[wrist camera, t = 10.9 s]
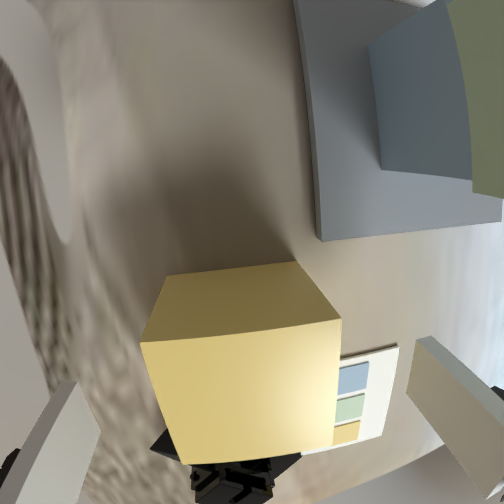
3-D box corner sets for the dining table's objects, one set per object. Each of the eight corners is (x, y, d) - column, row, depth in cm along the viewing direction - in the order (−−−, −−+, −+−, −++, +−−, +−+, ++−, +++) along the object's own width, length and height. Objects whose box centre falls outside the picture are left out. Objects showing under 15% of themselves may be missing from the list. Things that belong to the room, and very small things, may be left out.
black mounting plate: (330, 442, 19) (349, 489, 15) (269, 490, 21) (278, 534, 16) (170, 377, 17) (160, 436, 12) (124, 441, 18) (112, 491, 13)
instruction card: (300, 366, 16) (301, 369, 16) (398, 345, 17) (400, 347, 17) (300, 453, 19) (301, 456, 18) (380, 433, 19) (381, 436, 19)
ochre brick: (167, 275, 14) (139, 342, 9) (296, 260, 15) (341, 318, 9) (189, 378, 16) (182, 464, 10) (299, 365, 17) (332, 445, 11)
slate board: (291, -6, 11) (295, -13, 11) (474, 32, 12) (482, 29, 11) (316, 237, 15) (322, 241, 14) (492, 218, 15) (501, 221, 15)
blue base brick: (367, 45, 12) (443, -4, 6) (460, 63, 12) (540, 43, 6) (381, 170, 13) (472, 180, 7) (471, 170, 14) (558, 183, 8)
